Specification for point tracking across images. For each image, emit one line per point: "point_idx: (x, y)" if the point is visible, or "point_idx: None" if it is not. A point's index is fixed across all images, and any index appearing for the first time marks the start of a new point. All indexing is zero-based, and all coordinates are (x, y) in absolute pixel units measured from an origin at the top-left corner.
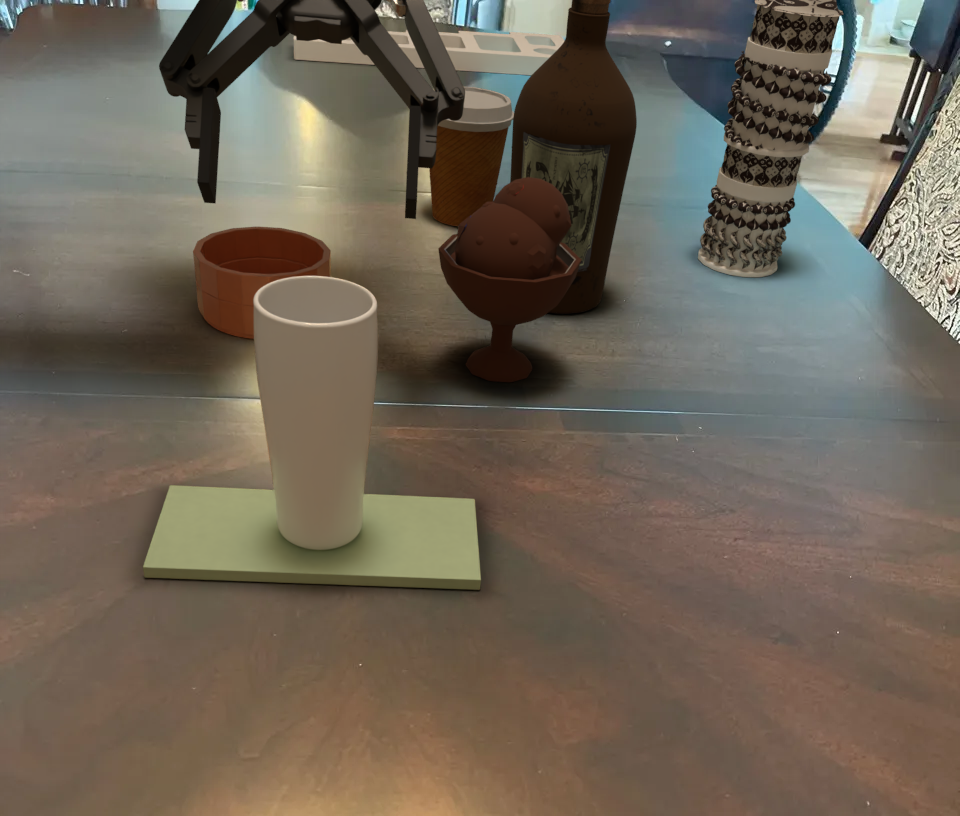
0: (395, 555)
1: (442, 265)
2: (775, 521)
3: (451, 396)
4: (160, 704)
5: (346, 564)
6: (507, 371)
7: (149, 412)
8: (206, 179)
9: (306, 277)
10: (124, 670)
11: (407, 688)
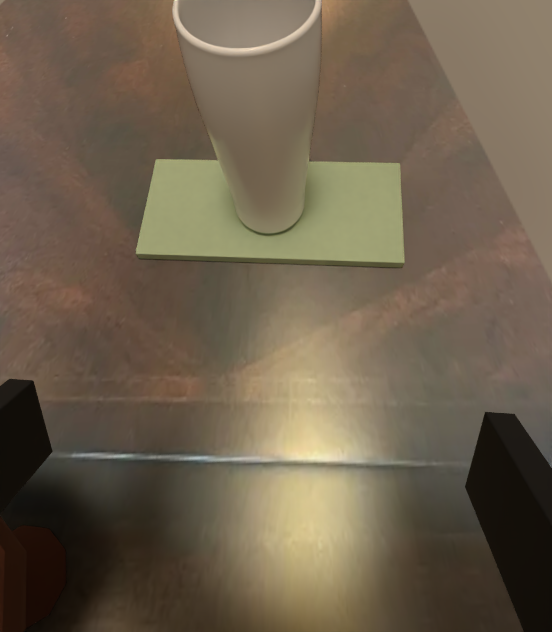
0: (213, 180)
1: (15, 626)
2: None
3: (108, 481)
4: (361, 75)
5: None
6: (17, 535)
7: (464, 424)
8: (495, 419)
9: (256, 48)
10: (388, 96)
11: None
